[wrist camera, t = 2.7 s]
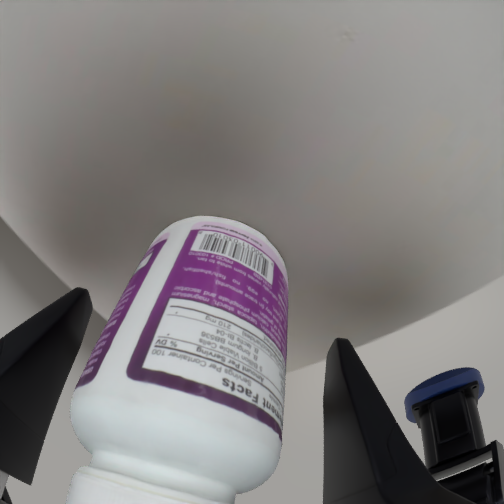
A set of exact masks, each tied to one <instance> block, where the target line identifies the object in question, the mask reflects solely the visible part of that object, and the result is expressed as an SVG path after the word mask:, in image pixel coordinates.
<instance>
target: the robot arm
mask: <svg viewBox="0 0 504 504" xmlns="http://www.w3.org/2000/svg"><path fill="white" fill-rule="evenodd" d="M92 310H93V306H92V302H91V299H90V295H89V292H88V290H87V289H84V288H80V287H77V288H75V289H73V290H72V291H70V292H69V293H67V294H65V295H64V296H63V297H61V298H60V299H58V300H56V301H55V302H53V303H52V304H50V305H49V306H47V307H46V308H44V309H43V310H41V311H40V312H38V313H37V314H35V315H34V316H32V317H31V318H29V319H28V320H27V321H25V322H24V323H22V324H21V325H19V326H18V327H16V328H15V329H14V330H12V331H11V332H9V333H8V334H6V335H5V336H4V337H2V338H1V339H0V504H12V502H11V499H10V497H9V494H8V492H7V489H6V486H5V485H6V482H7V480H8V477H9V475H11V476H12V477H14V478H16V479H18V480H20V481H22V482H24V483H26V484H29V485H31V483H32V481H33V477H34V473H35V469H36V466H37V463H38V459H39V456H40V453H41V450H42V446H43V443H44V440H45V436H46V434H47V431H48V428H49V425H50V422H51V419H52V416H53V413H54V411H55V408H56V405H57V403H58V400H59V397H60V395H61V392H62V390H63V387H64V384H65V382H66V380H67V377H68V375H69V372H70V370H71V368H72V365H73V363H74V360H75V357H76V356H77V354H78V351H79V349H80V346H81V343H82V340H83V337H84V334H85V331H86V328H87V325H88V322H89V319H90V316H91V313H92ZM324 385H325V386H324V396H323V409H324V411H323V414H324V484H323V504H504V449H503V446H502V444H500V443H499V442H498V441H497V440H495V441H493V442H491V443H490V444H489V445H487V446H486V444H485V439H484V434H483V429H482V425H481V421H480V416H479V412H478V408H477V404H478V395H479V382H478V380H475V381H473V382H470V383H468V384H466V385H463V386H461V387H458V388H456V389H453V390H451V391H448V392H446V393H443V394H440V395H438V396H435V397H432V398H429V399H427V400H424V401H421V402H418V403H415V404H413V405H412V406H411V410H412V413H413V415H414V418H415V420H416V423H417V425H418V428H421V433H422V440H423V447H424V455H425V464H426V466H425V465H424V464H423V462H422V461H421V459H420V458H419V457H418V455H417V454H416V452H415V451H414V449H413V448H412V446H411V445H410V443H409V442H408V440H407V438H406V437H405V435H404V433H403V432H402V430H401V428H400V427H399V425H398V423H396V420H395V418H394V416H393V414H392V413H391V411H390V409H389V407H388V406H387V404H386V402H385V400H384V399H383V397H382V395H381V394H380V392H379V390H378V388H377V387H376V385H375V383H374V382H373V380H372V378H371V376H370V375H369V373H368V371H367V370H366V368H365V366H364V365H363V363H362V361H361V360H360V358H359V356H358V355H357V353H356V351H355V350H354V348H353V346H352V345H351V343H350V341H349V340H348V339H344V338H336V339H335V340H334V342H333V344H332V346H331V347H330V349H329V351H328V354H327V360H326V373H325V384H324ZM490 458H492V460H493V461H492V462H490V463H488V464H487V463H486V462H485V463H482V464H480V465H478V466H476V467H473V468H471V469H469V470H466V471H464V472H461V473H459V474H456V475H453V476H451V477H448V478H445V479H443V480H439V481H436V480H438V479H441V478H444V477H447V476H449V475H452V474H455V473H457V472H460V471H462V470H465V469H467V468H469V467H472V466H474V465H477V464H479V463H481V462H483V461H485V460H488V459H490Z"/></svg>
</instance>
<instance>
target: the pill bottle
mask: <svg viewBox="0 0 504 504" xmlns="http://www.w3.org/2000/svg"><path fill="white" fill-rule="evenodd" d="M288 293H289V291H288V275H287V271H286V267H285V264H284V261H283V259H282V257H281V256H280V254H279V252H278V251H277V250H276V248H275V247H274V246H273V245H272V244H271V243H270V242H269V241H268V239H267V238H266V237H265V236H264V235H263V234H261V233H260V232H258V231H256V230H255V229H253V228H251V227H249V226H247V225H245V224H243V223H241V222H239V221H235V220H231V219H226V218H221V217H214V216H195V217H190V218H186V219H183V220H180V221H177V222H175V223H173V224H171V225H170V226H168V227H167V228H165V229H164V230H163V231H162V232H161V233H160V234H159V235H158V236H157V237H156V238H155V240H154V241H153V242H152V244H151V246H150V247H149V249H148V250H147V252H146V254H145V255H144V257H143V259H142V260H141V262H140V264H139V266H138V267H137V269H136V271H135V273H134V274H133V276H132V278H131V280H130V281H129V283H128V285H127V287H126V289H125V291H124V292H123V294H122V296H121V298H120V300H119V302H118V304H117V305H116V307H115V309H114V311H113V313H112V315H111V317H110V319H109V320H108V322H107V324H106V326H105V328H104V330H103V332H102V334H101V336H100V338H99V340H98V342H97V343H96V345H95V347H94V349H93V351H92V353H91V356H90V358H89V360H88V362H87V365H86V367H85V369H84V371H83V373H82V375H81V377H80V379H79V381H78V383H77V385H76V388H75V390H74V393H73V397H72V401H71V406H70V418H71V423H72V426H73V429H74V431H75V433H76V435H77V437H78V439H79V441H80V443H81V444H82V445H83V446H84V447H85V448H86V449H87V450H88V451H89V452H90V453H91V454H92V455H93V456H92V460H91V462H90V465H89V466H82V467H80V468H79V470H78V471H77V473H75V474H74V475H73V477H72V481H71V484H70V488H69V492H68V496H67V500H66V504H234V501H235V495H236V494H241V493H244V492H248V491H250V490H253V489H255V488H257V487H258V486H260V485H262V484H263V483H264V482H265V481H266V480H268V478H269V477H270V476H271V475H272V474H273V472H274V471H275V469H276V467H277V465H278V462H279V458H280V451H281V447H282V430H283V412H284V396H285V376H286V356H287V327H288Z"/></svg>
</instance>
